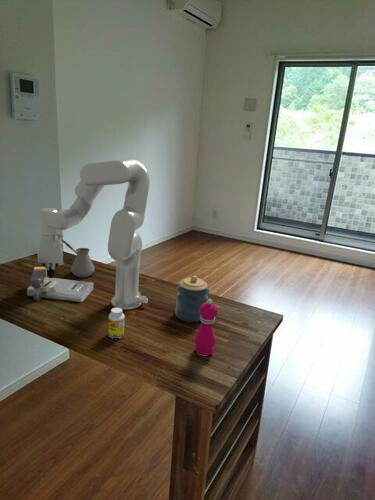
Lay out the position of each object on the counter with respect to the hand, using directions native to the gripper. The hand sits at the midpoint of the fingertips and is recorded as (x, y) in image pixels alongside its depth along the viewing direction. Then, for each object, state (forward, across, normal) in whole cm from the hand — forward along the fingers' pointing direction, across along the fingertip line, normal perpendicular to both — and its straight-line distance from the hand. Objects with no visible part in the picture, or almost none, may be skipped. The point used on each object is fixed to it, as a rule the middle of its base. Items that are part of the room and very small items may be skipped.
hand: (51, 277), depth 164 cm
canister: (+6, -57, +29) cm, 64 cm away
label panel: (+6, -4, +3) cm, 8 cm away
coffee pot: (+6, -10, -20) cm, 23 cm away
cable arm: (+1, +5, +4) cm, 6 cm away
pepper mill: (+6, -55, +55) cm, 78 cm away
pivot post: (+6, +4, +11) cm, 13 cm away
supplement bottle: (+6, -26, +42) cm, 49 cm away
